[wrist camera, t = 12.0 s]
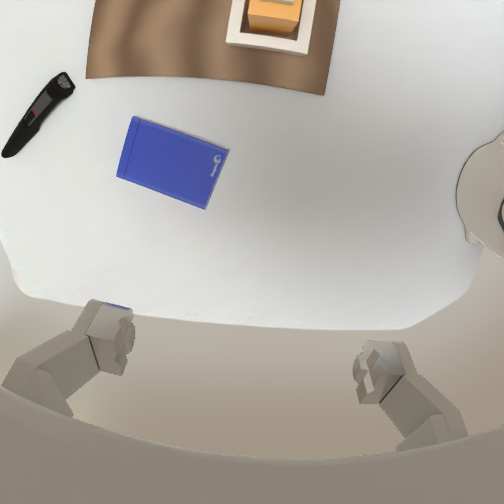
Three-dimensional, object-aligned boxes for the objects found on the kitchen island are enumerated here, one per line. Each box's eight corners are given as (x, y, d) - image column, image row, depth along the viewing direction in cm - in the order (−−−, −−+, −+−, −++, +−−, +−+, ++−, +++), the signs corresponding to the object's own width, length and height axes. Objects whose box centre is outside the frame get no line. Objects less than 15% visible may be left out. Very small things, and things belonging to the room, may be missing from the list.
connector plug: (293, 5, 24) (307, -23, 16) (288, 36, 26) (300, 18, 18) (255, 0, 24) (254, -31, 15) (250, 31, 26) (247, 10, 17)
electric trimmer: (8, 141, 33) (-5, 147, 30) (65, 69, 28) (51, 70, 26) (19, 158, 35) (6, 165, 32) (78, 89, 30) (65, 91, 27)
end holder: (313, -6, 23) (318, -13, 21) (303, 56, 27) (307, 54, 25) (239, -17, 23) (237, -26, 20) (228, 45, 27) (225, 42, 24)
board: (341, -24, 22) (352, -36, 18) (321, 95, 31) (331, 97, 27) (107, -33, 21) (90, -43, 17) (90, 78, 29) (70, 80, 25)
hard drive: (229, 150, 34) (131, 116, 31) (204, 210, 38) (115, 177, 35) (230, 148, 35) (136, 114, 33) (206, 205, 39) (120, 173, 37)
